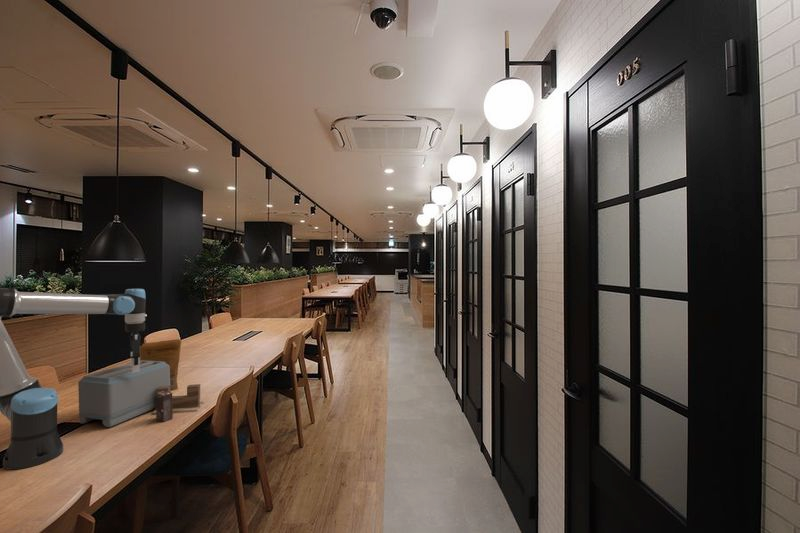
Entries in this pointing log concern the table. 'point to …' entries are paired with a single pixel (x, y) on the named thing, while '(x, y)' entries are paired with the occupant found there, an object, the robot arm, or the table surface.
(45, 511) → the table surface
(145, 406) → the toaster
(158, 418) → the box
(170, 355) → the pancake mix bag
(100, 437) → the table surface
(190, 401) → the wooden u-shaped block
